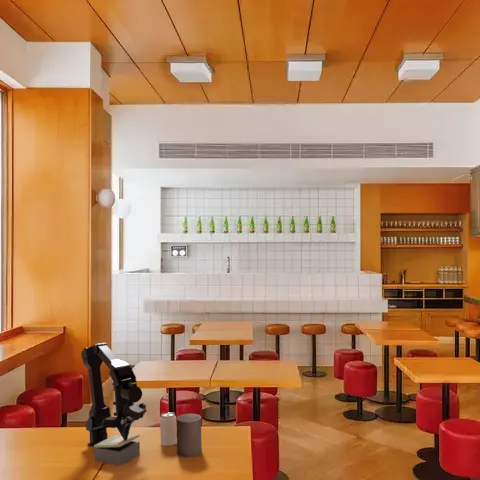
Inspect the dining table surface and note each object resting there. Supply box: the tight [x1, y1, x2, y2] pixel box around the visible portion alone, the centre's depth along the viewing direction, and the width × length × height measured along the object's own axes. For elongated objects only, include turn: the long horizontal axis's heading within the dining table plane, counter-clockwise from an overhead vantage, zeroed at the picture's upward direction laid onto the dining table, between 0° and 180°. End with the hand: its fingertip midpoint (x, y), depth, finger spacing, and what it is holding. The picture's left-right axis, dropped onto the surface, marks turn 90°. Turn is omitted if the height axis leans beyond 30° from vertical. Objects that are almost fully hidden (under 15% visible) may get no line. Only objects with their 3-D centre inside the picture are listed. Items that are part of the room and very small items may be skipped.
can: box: [159, 411, 177, 447], centre depth 232 cm, size 6×6×12 cm
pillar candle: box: [176, 413, 203, 458], centre depth 222 cm, size 10×10×15 cm
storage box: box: [93, 440, 141, 467], centre depth 219 cm, size 12×12×5 cm
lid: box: [93, 433, 140, 448], centre depth 219 cm, size 12×12×1 cm
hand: (125, 439), depth 217 cm, fingers closed, pressing on lid
